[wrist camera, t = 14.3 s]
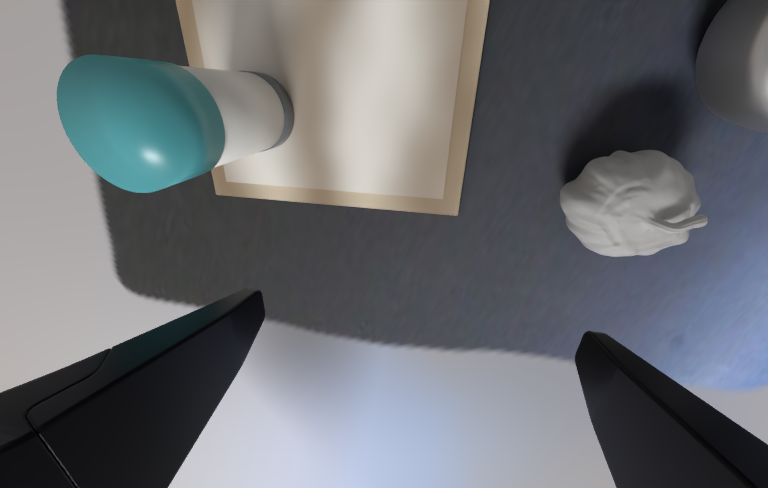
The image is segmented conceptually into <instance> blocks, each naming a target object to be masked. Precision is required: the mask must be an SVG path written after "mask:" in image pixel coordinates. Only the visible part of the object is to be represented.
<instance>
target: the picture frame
mask: <svg viewBox="0 0 768 488" xmlns="http://www.w3.org/2000/svg"><path fill="white" fill-rule="evenodd" d="M489 1H490V0H176V4H177V9H178V14H179V19H180V23H181V28H182V33H183V38H184V43H185V47H186V52H187V57H188V62H189V66H190V67H196V68H207V69H218V70H229V71H252V72H261V73H264V74H267V75H269V76H271V77H273V78H274V79H275V80H277V81H278V82H279V83H280V84H281V85H282V86H283V87H284V89H285V90H286V92H287V93H288V95H289V97H290V99H291V102H292V105H293V108H294V126H293V130H292V132H291V134H290V136H289V138H288V139H287V140H286V141H285V142H284V143H283V144H281V145H280V146H278V147H275V148H272V149H269V150H266V151H262V152H258V153H255V154H252V155H249V156H246V157H243V158H240V159H237V160H235V161H232V162H229V163H226V164H223V165H220V166H217V167H214V168H213V169H211V171H212V176H213V181H214V186H215V190H216V195H225V196H237V197H248V198H260V199H271V200H283V201H294V202H306V203H317V204H328V205H340V206H351V207H363V208H374V209H386V210H397V211H409V212H420V213H432V214H443V215H455V216H458V210H459V203H460V196H461V190H462V183H463V176H464V169H465V163H466V156H467V149H468V143H469V136H470V129H471V122H472V116H473V109H474V102H475V95H476V89H477V82H478V75H479V69H480V62H481V55H482V48H483V42H484V35H485V28H486V22H487V15H488V8H489Z"/></svg>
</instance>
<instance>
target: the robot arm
mask: <svg viewBox="0 0 768 488" xmlns="http://www.w3.org/2000/svg"><path fill="white" fill-rule="evenodd" d="M264 318H265V309H264V303H263V297H262V293H261V291H260V290H256V289H244V290H242V291H239V292H237V293H235V294H232V295H230V296H228V297H226V298H223V299H221V300H219V301H216V302H214V303H212V304H210V305H207V306H205V307H203V308H200V309H198V310H196V311H194V312H191V313H189V314H187V315H184V316H182V317H180V318H178V319H175V320H173V321H171V322H168V323H166V324H164V325H162V326H159V327H157V328H155V329H152V330H150V331H148V332H146V333H143V334H141V335H139V336H137V337H134V338H132V339H130V340H127V341H125V342H123V343H120V344H119V345H116V346H114V347H112V349H106V350H104V351H102V352H100V353H98V354H95V355H93V356H91V357H88V358H86V359H84V360H81V361H79V362H76V363H74V364H72V365H70V366H67V367H65V368H62V369H60V370H57V371H55V372H52V373H50V374H47V375H45V376H42V377H40V378H37V379H34V380H32V381H29V382H27V383H24V384H22V385H19V386H17V387H14V388H12V389H9V390H6V391H4V392H1V393H0V488H168V486H169V485H170V483H171V481H172V480H173V478H174V477H175V475H176V473H177V472H178V470H179V468H180V467H181V465H182V463H183V462H184V460H185V458H186V457H187V455H188V454H189V452H190V450H191V449H192V447H193V445H194V443H195V442H196V440H197V439H198V437H199V435H200V434H201V432H202V431H203V429H204V427H205V426H206V424H207V422H208V421H209V419H210V417H211V416H212V414H213V412H214V411H215V409H216V408H217V406H218V404H219V403H220V401H221V399H222V398H223V396H224V394H225V393H226V391H227V389H228V388H229V386H230V385H231V383H232V381H233V380H234V378H235V376H236V375H237V373H238V371H239V370H240V368H241V366H242V364H243V362H244V361H245V359H246V357H247V354H248V352H249V350H250V348H251V346H252V344H253V342H254V340H255V338H256V335H257V333H258V331H259V329H260V327H261V325H262V323H263V321H264ZM575 363H576V367H577V371H578V374H579V378H580V382H581V386H582V389H583V393H584V397H585V400H586V404H587V408H588V412H589V415H590V418H591V422H592V424H593V427H594V430H595V433H596V435H597V438H598V440H599V443H600V446H601V448H602V451H603V453H604V456H605V459H606V461H607V464H608V467H609V469H610V472H611V474H612V477H613V479H614V482H615V485H616V487H617V488H768V445H767V444H766V443H764V442H763V441H761V440H760V439H758V438H757V437H756V436H754V435H753V434H751V433H750V432H748V431H747V430H745V429H744V428H742V427H741V426H739V425H738V424H736V423H735V422H733V421H732V420H731V419H729V418H728V417H726V416H725V415H723V414H722V413H720V412H719V411H717V410H716V409H715V408H713V407H712V406H710V405H709V404H707V403H706V402H705V401H703V400H701V399H700V398H699V397H697V396H696V395H694V394H693V393H691V392H690V391H688V390H687V389H686V388H684V387H683V386H681V385H680V384H678V383H677V382H675V381H674V380H672V379H671V378H669V377H668V376H667V375H665V374H664V373H662V372H661V371H659V370H658V369H656V368H655V367H653V366H652V365H651V364H649V363H648V362H646V361H645V360H643V359H642V358H640V357H639V356H637V355H636V354H634V353H633V352H632V351H630V350H629V349H627V348H626V347H624V346H623V345H621V344H620V343H618V342H617V341H616V340H614V339H613V338H611V337H610V336H608V335H607V334H605V333H601V332H593V331H587V332H585V333H584V335H583V337H582V340H581V342H580V345H579V347H578V349H577V352H576V355H575Z"/></svg>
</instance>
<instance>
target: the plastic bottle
mask: <svg viewBox="0 0 768 488" xmlns="http://www.w3.org/2000/svg"><path fill="white" fill-rule="evenodd" d="M695 82H696V88H697V92H698V95H699V97H700V99H701V101H702V103H703V104H704V105H705V107H706V108H707V109H708V110H709V111H710V112H711V113H712V114H714V115H715V116H717V117H719V118H720V119H722V120H725V121H727V122H730V123H732V124H735V125H738V126H740V127H743V128H746V129H749V130H752V131H755V132H764V133H768V0H727V1H726V3H725V4H724V5H723V6H722V8H721V9H720V10H719V11H718V12H717V14H716V16H715V17H714V19H713V21H712V22H711V24H710V25H709V27H708V29H707V30H706V33H705V35H704V37H703V40H702V42H701V44H700V47H699V49H698V54H697V58H696V62H695Z"/></svg>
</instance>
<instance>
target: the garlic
mask: <svg viewBox="0 0 768 488" xmlns="http://www.w3.org/2000/svg"><path fill="white" fill-rule="evenodd" d="M560 205H561V207H562V209H563V211H564V213H565V215H566V224H567V226H568V228H569V229H570V230H571V231H572V232H573V233H574V234H575V235H576V236H577V238H579V240H580V241H581V243H582V244H583V245H584V246H585V247H586V248H588V249H590V250H592V251H594V252H596V253H598V254H601V255H607V256H612V257H619V256H633V255H651V254H654V253H656V252H658V251H659V250H661V249H664V248H667V247H669V246H673V245H678V244H682V243H684V242H686V241H687V239H688V237H689V231H690V229H692V228H698V227H702V226H704V225H706V224H707V222H708V218H707V217H706V216H705V215H696V216H694V215H695V213H696V212H697V210H698V209H699V208H700V206H701V200H700V198H699V196H698V195H697V193H696V191H695V183H694V178H693V176H692V174H691V173H689V172H688V171H687V170H685V169H684V167H683V166H682V165H681V163H679V162H678V161H677V160H675V159H674V158H671V157H669V156H667V155H666V154H665V153H663V152H661V151H657V150H642V151H637V152H632V153H629V152H626V151H621V150H620V151H616V152H614V153H612V154H611V155H610V156H607V157H606V156H604V157H599V158H596V159H593V160H591V161H590V162H589V163H588V164H587V165H586V166H585V168H584V169H583V171H582V172H581V174H580V175H579V176H578V177H577V178H576V179H575V180H573V181H571V182H569V183H567V184H565V185H564V186H563V188H562V189H561V192H560Z"/></svg>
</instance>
